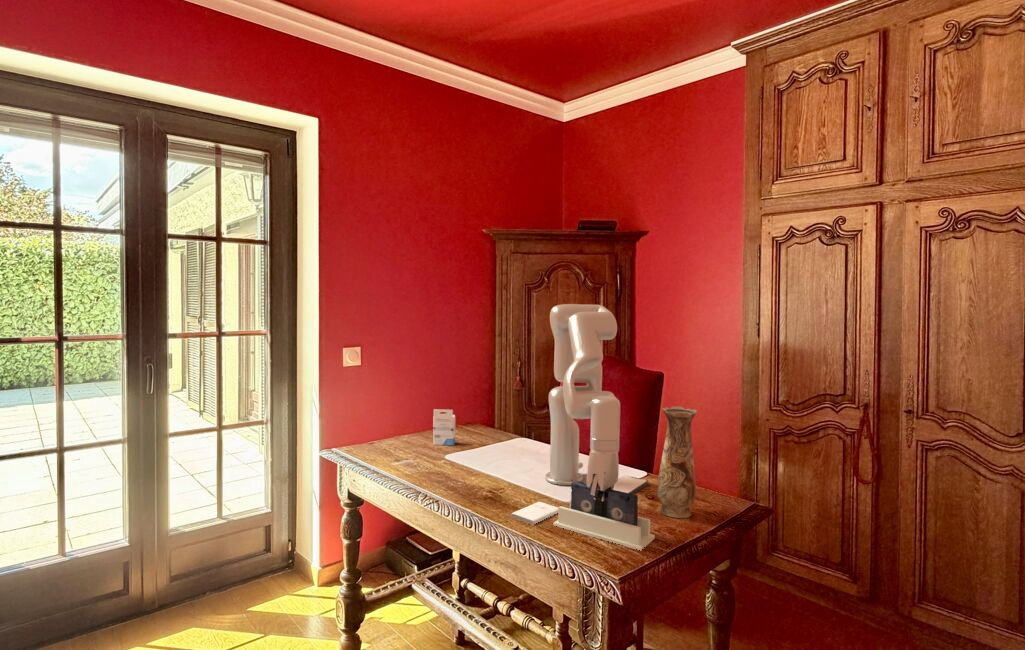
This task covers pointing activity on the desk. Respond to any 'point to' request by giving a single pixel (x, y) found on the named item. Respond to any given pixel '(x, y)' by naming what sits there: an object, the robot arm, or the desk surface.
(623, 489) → the phone case
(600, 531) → the rack
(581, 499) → the vhs cassette tape
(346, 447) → the desk surface
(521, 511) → the external hard drive
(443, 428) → the ink box
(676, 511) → the vase
